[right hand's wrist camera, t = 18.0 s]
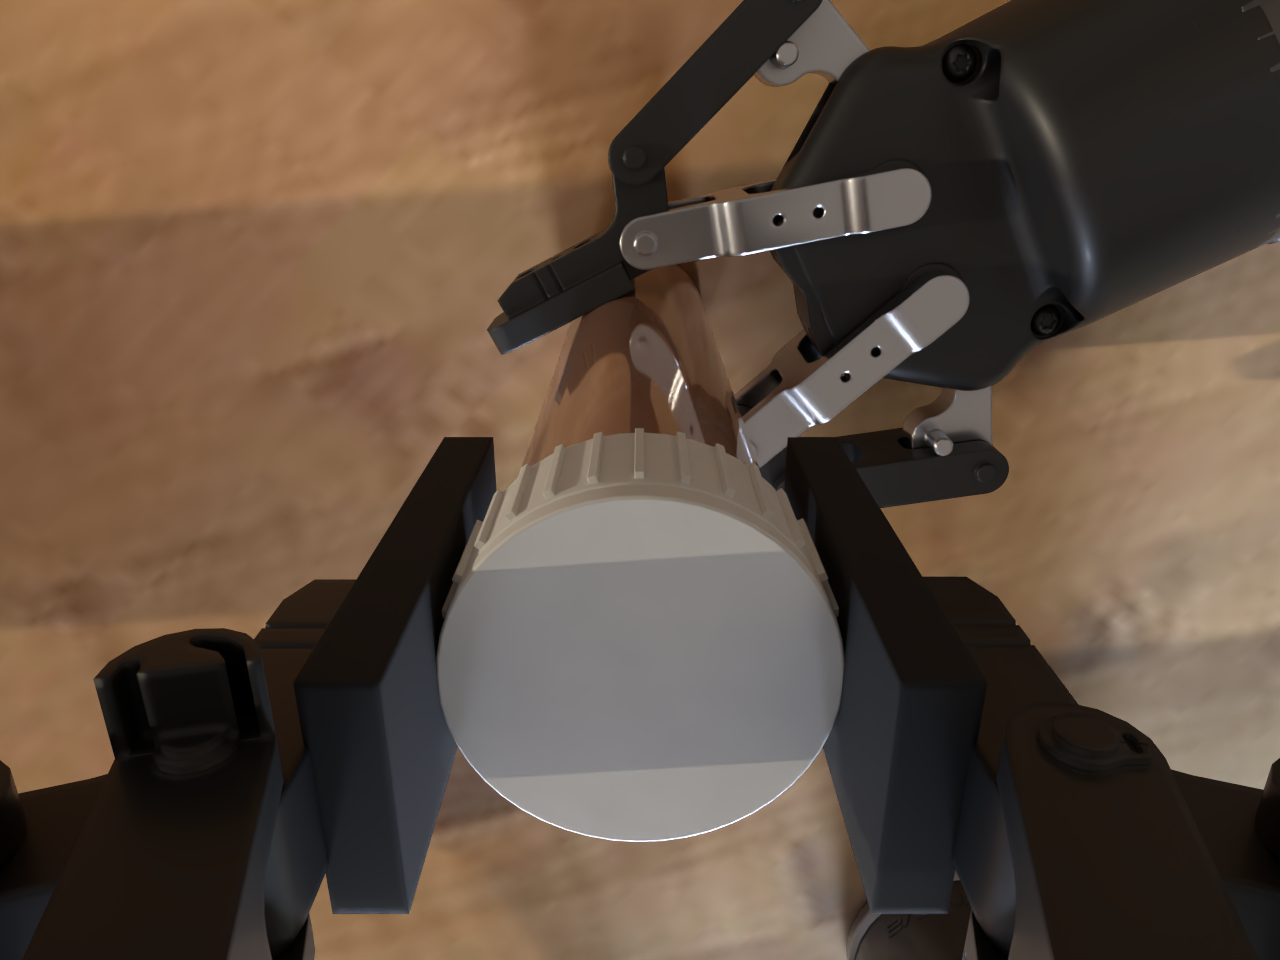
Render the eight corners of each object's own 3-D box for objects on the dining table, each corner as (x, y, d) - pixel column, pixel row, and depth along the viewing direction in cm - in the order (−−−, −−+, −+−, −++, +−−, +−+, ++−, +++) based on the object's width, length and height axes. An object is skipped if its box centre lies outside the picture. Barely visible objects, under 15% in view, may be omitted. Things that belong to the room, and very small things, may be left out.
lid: (825, 723, 13) (857, 830, 11) (496, 753, 13) (470, 864, 11) (811, 405, 11) (847, 466, 9) (430, 446, 11) (386, 514, 9)
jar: (566, 263, 28) (434, 519, 10) (695, 244, 28) (797, 470, 10) (588, 387, 30) (507, 802, 12) (710, 370, 29) (821, 766, 11)
